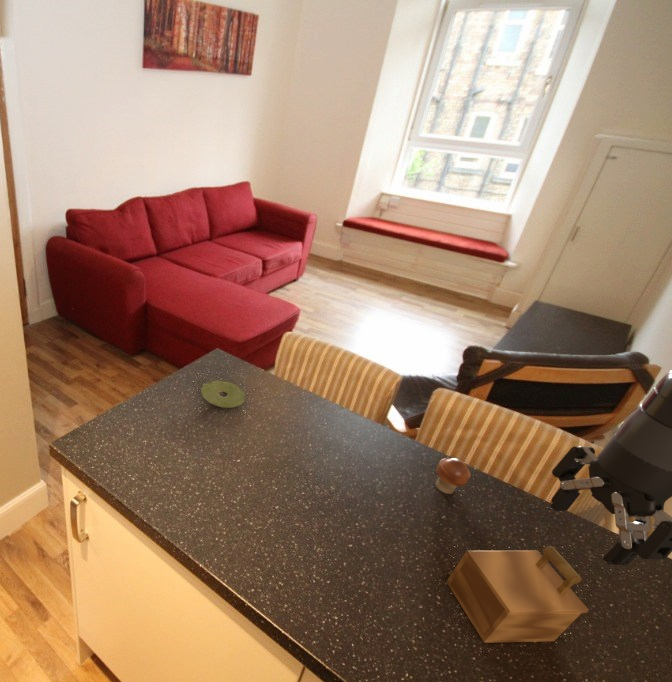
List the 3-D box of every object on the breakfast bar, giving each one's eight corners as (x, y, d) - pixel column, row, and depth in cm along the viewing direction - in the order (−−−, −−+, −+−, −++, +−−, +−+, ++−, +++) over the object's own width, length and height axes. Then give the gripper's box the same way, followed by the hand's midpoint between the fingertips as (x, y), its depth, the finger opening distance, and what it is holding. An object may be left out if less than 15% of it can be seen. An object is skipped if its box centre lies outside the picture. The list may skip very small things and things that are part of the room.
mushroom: (456, 482, 95) (470, 456, 91) (462, 501, 90) (478, 475, 86) (427, 474, 96) (440, 448, 92) (432, 493, 92) (446, 467, 88)
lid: (535, 552, 72) (551, 533, 69) (586, 612, 64) (606, 593, 61) (465, 553, 71) (478, 533, 68) (508, 614, 63) (525, 594, 60)
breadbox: (508, 581, 76) (531, 553, 72) (554, 641, 68) (582, 613, 64) (445, 581, 75) (464, 553, 71) (483, 642, 67) (508, 614, 63)
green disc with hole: (206, 382, 120) (207, 376, 119) (247, 392, 117) (248, 386, 116) (195, 406, 111) (196, 399, 110) (240, 418, 108) (241, 411, 107)
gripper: (752, 495, 49) (658, 582, 57) (628, 412, 61) (565, 493, 69) (691, 494, 48) (604, 583, 56) (578, 410, 60) (520, 493, 69)
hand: (582, 533), depth 63 cm, fingers open, 8 cm apart
